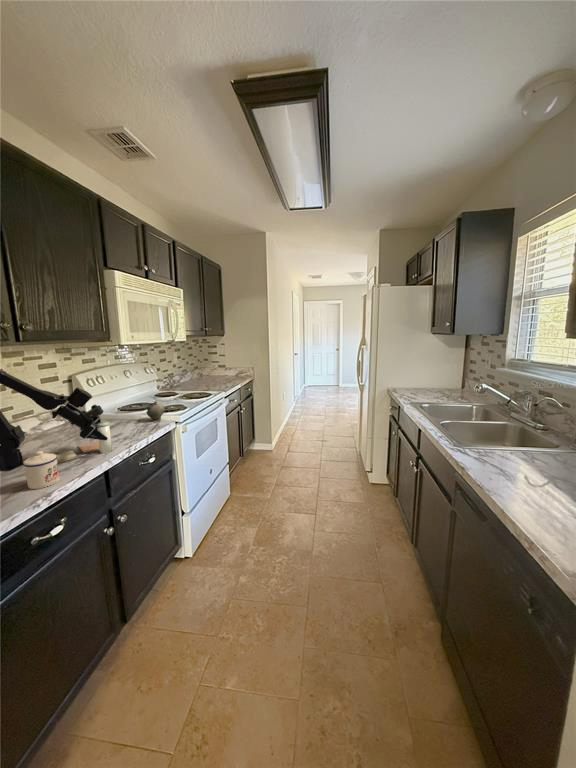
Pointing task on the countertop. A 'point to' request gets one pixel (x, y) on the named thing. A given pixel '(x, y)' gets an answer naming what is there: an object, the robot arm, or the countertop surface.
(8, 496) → the countertop surface
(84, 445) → the mat
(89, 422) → the robot arm
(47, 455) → the teacup with lid
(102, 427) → the spice jar
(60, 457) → the mat
